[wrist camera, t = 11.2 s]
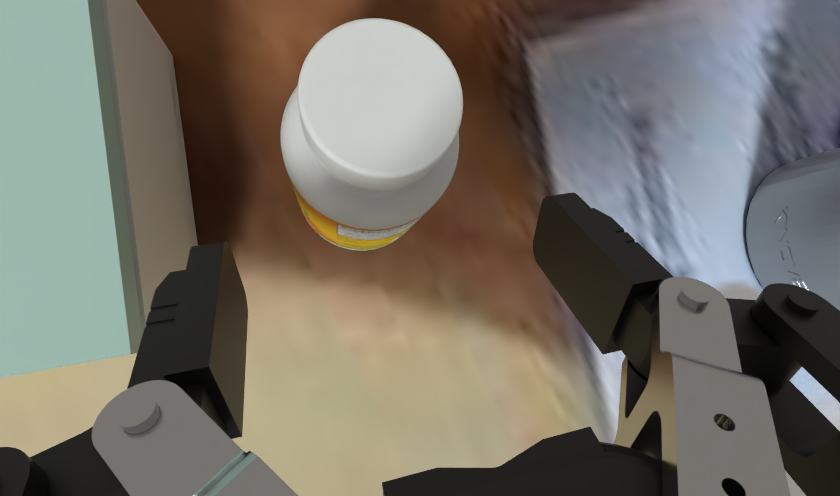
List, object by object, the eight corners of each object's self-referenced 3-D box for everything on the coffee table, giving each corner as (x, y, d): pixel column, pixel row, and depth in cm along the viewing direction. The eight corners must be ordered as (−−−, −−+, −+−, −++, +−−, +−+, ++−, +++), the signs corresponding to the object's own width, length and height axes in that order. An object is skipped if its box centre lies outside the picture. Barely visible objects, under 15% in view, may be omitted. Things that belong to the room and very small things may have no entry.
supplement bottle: (295, 135, 20) (257, -19, 10) (414, 134, 21) (480, -7, 11) (302, 256, 19) (268, 212, 10) (424, 248, 20) (502, 201, 11)
